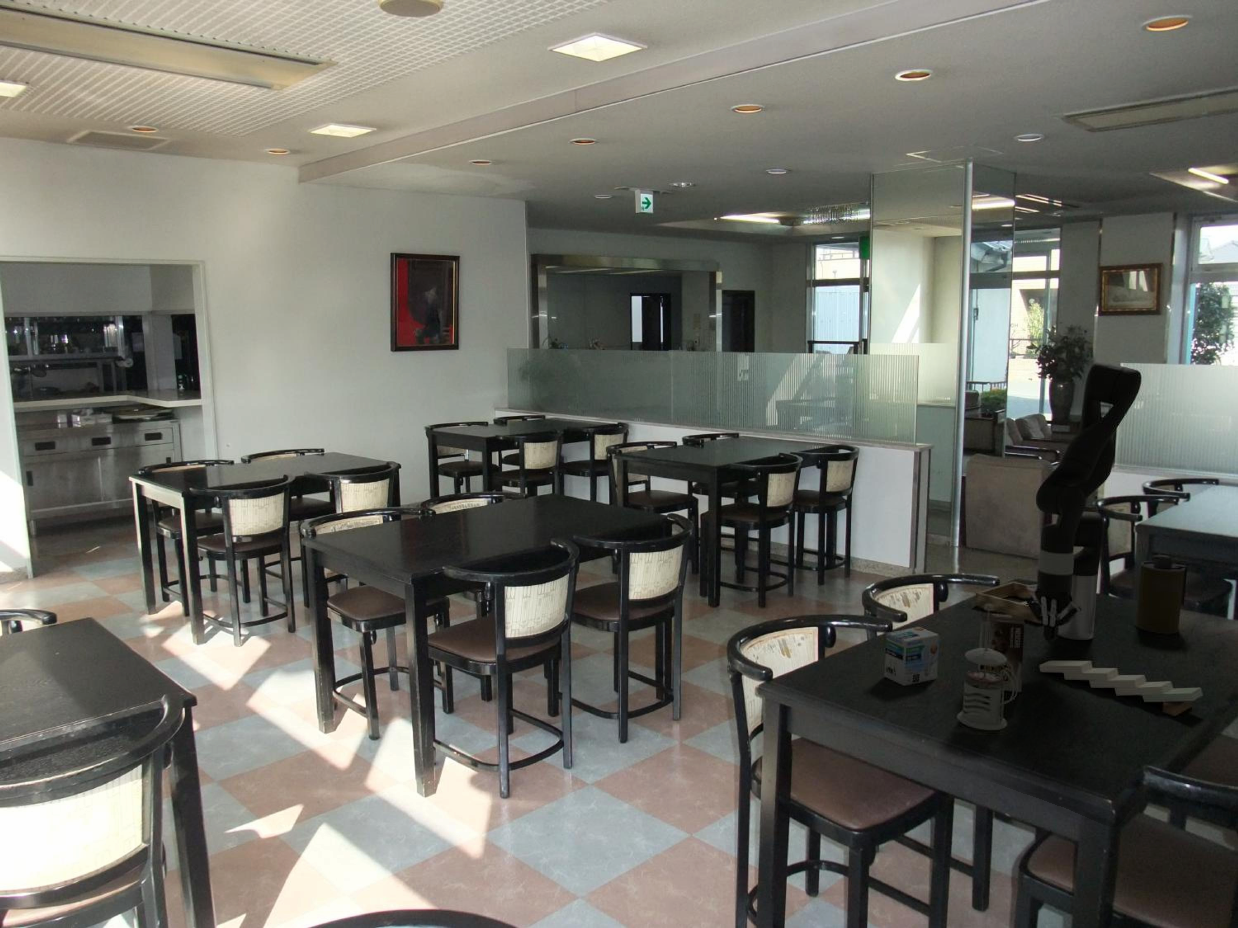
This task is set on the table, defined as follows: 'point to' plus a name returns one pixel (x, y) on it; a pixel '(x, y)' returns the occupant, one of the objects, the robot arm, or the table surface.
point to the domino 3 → (1120, 682)
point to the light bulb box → (911, 656)
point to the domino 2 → (1093, 674)
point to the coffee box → (1004, 646)
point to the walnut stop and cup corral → (1015, 608)
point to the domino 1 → (1066, 666)
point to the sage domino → (1175, 695)
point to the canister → (1161, 595)
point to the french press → (985, 689)
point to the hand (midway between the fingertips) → (1050, 639)
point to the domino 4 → (1146, 689)
